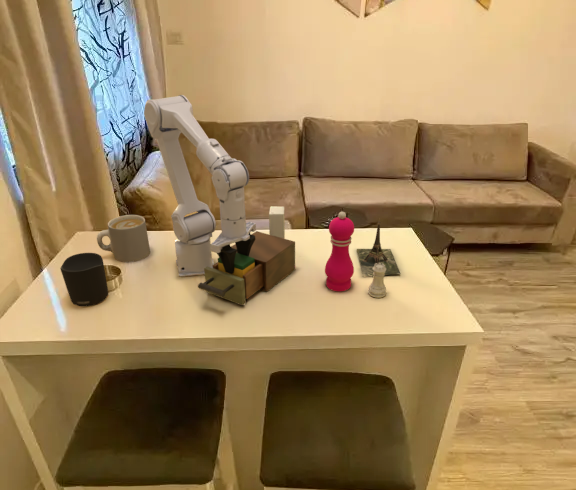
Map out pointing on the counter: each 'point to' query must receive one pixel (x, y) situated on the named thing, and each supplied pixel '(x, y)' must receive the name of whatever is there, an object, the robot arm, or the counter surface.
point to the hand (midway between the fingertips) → (236, 267)
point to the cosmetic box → (277, 221)
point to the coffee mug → (126, 238)
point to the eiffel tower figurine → (377, 258)
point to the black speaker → (85, 279)
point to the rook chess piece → (378, 282)
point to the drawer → (233, 283)
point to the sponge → (239, 265)
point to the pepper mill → (340, 254)
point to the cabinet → (273, 257)
